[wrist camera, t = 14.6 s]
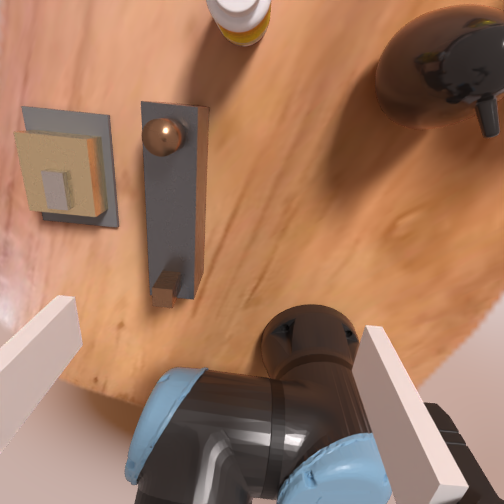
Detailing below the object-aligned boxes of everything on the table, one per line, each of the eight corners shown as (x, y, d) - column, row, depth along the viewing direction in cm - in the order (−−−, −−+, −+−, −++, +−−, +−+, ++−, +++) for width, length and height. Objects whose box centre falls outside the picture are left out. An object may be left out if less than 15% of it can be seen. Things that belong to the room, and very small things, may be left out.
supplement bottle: (279, 26, 33) (286, -4, 24) (235, 58, 35) (225, 41, 25) (252, -32, 31) (248, -89, 22) (206, 4, 33) (184, -36, 23)
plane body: (203, 272, 46) (186, 318, 36) (165, 269, 46) (138, 314, 36) (209, 107, 37) (189, 107, 27) (162, 102, 37) (124, 100, 27)
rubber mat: (119, 225, 43) (117, 227, 43) (46, 218, 43) (43, 220, 43) (109, 115, 37) (107, 115, 37) (25, 106, 37) (21, 106, 37)
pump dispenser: (368, 138, 38) (430, 156, 24) (360, 37, 34) (428, -11, 20) (459, 116, 36) (579, 122, 23) (461, 8, 32) (610, -65, 18)
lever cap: (108, 208, 42) (92, 219, 38) (47, 202, 42) (25, 212, 38) (101, 136, 38) (82, 140, 34) (34, 129, 38) (8, 132, 34)
